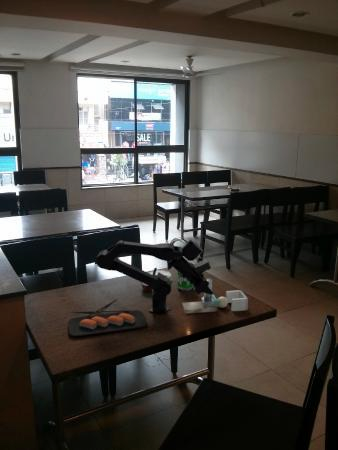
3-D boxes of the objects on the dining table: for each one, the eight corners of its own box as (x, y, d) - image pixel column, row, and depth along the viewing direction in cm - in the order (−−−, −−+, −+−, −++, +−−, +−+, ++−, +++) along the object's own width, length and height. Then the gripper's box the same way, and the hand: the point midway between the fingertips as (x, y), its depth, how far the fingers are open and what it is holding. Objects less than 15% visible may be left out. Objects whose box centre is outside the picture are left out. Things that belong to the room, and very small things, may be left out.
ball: (225, 310, 167) (225, 300, 166) (215, 308, 169) (215, 298, 168) (228, 305, 171) (229, 295, 170) (218, 303, 173) (219, 294, 172)
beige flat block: (185, 313, 164) (185, 310, 164) (182, 306, 171) (182, 302, 170) (216, 311, 166) (216, 307, 165) (212, 304, 173) (212, 300, 172)
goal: (232, 311, 166) (232, 299, 165) (225, 302, 174) (226, 291, 173) (247, 310, 167) (248, 298, 166) (240, 301, 175) (240, 290, 174)
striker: (204, 307, 165) (204, 282, 163) (200, 301, 171) (201, 277, 168) (217, 306, 166) (218, 282, 163) (213, 300, 172) (214, 276, 169)
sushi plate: (69, 341, 145) (68, 331, 144) (66, 306, 173) (66, 297, 172) (149, 330, 152) (149, 320, 151) (134, 298, 180) (134, 290, 179)
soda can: (174, 286, 191) (174, 262, 188) (188, 284, 194) (189, 260, 192) (181, 292, 185) (182, 267, 182) (196, 289, 188) (196, 265, 185)
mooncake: (148, 286, 193) (148, 278, 192) (145, 277, 205) (145, 270, 204) (173, 284, 195) (173, 277, 195) (168, 275, 207) (168, 268, 206)
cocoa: (139, 289, 190) (137, 264, 187) (151, 286, 192) (149, 262, 190) (147, 296, 181) (145, 270, 179) (160, 292, 184) (158, 267, 181)
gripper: (204, 261, 154) (231, 286, 158) (194, 247, 172) (218, 270, 176) (183, 282, 154) (211, 306, 159) (175, 265, 172) (200, 288, 176)
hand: (211, 291), depth 167 cm, fingers closed on striker, 3 cm apart
